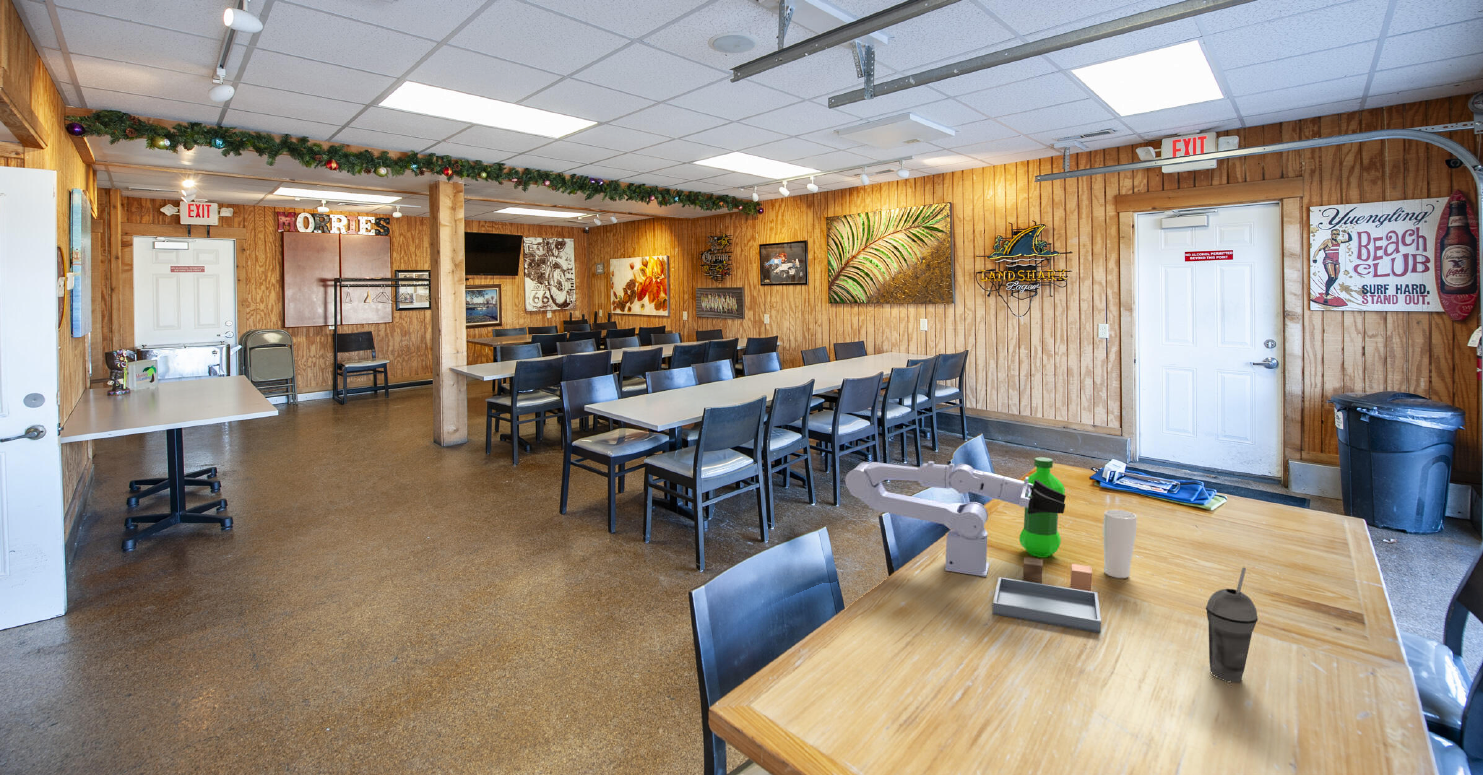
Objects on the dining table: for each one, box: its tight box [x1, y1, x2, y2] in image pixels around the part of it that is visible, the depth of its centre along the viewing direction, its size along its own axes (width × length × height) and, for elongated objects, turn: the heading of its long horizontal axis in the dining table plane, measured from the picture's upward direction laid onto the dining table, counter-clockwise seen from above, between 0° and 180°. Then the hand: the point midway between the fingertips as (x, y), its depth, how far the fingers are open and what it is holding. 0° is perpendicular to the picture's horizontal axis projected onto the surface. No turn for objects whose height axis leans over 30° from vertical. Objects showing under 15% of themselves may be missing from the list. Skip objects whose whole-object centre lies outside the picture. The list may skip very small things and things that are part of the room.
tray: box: [992, 576, 1102, 634], centre depth 141 cm, size 20×14×2 cm
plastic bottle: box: [1018, 456, 1066, 558], centre depth 170 cm, size 10×10×25 cm
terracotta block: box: [1070, 563, 1093, 592], centre depth 150 cm, size 4×4×5 cm
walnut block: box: [1022, 556, 1044, 584], centre depth 154 cm, size 4×4×5 cm
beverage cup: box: [1205, 567, 1259, 683], centre depth 115 cm, size 7×7×20 cm
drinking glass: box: [1102, 509, 1138, 579], centre depth 157 cm, size 7×7×15 cm
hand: (1064, 504), depth 151 cm, fingers open, 7 cm apart
